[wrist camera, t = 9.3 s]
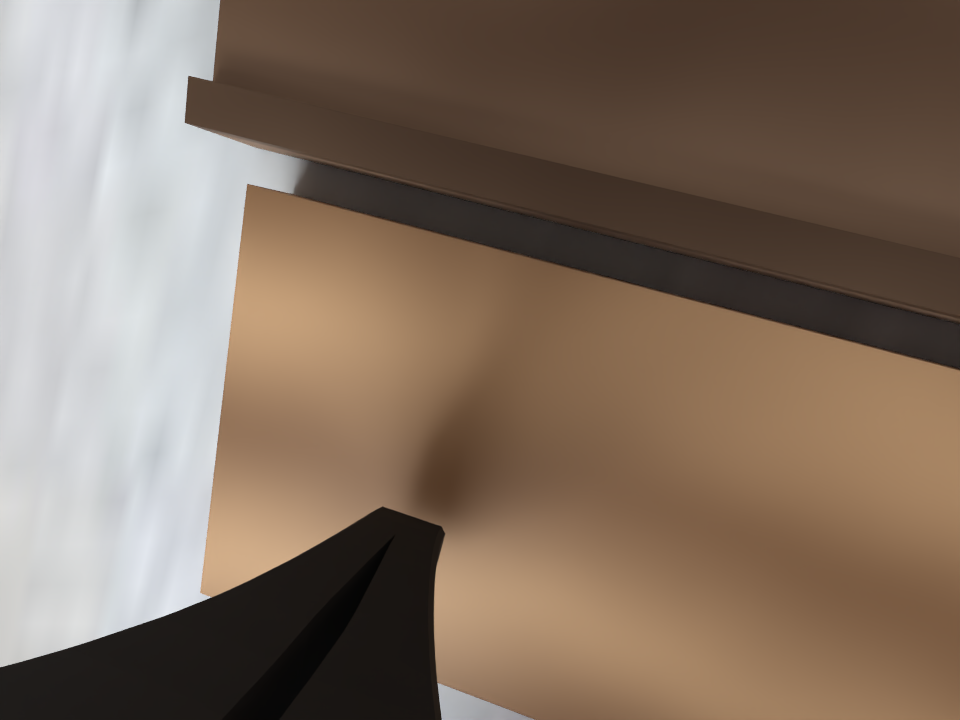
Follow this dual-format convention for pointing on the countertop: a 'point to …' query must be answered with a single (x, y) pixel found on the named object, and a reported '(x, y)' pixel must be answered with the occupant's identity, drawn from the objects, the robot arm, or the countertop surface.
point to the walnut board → (634, 121)
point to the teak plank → (595, 476)
